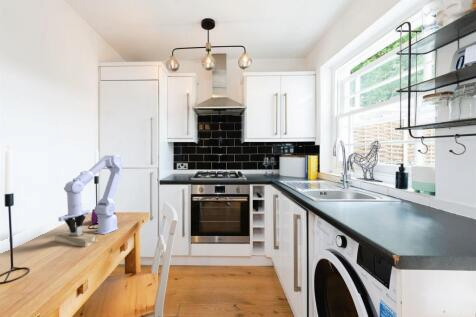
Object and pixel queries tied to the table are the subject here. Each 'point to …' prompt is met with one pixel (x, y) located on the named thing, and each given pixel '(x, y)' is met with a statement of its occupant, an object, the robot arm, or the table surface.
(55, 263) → the table surface
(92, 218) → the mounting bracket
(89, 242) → the post beam
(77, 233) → the rectangular metal block
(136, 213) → the table surface
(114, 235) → the table surface
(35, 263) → the table surface
